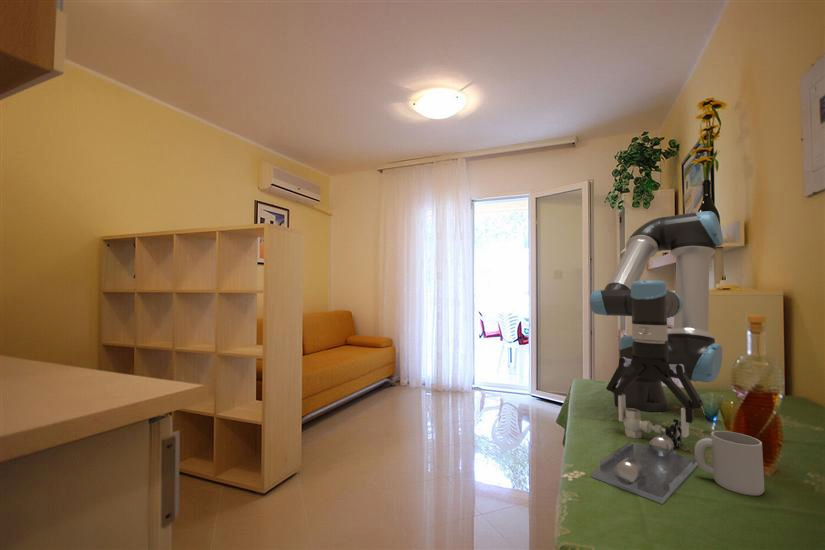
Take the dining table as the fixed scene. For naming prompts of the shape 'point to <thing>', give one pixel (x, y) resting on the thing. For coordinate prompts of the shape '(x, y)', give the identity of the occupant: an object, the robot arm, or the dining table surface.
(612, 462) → the tray
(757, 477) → the cup
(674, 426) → the valve
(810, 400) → the dining table surface
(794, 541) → the dining table surface
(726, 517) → the dining table surface
